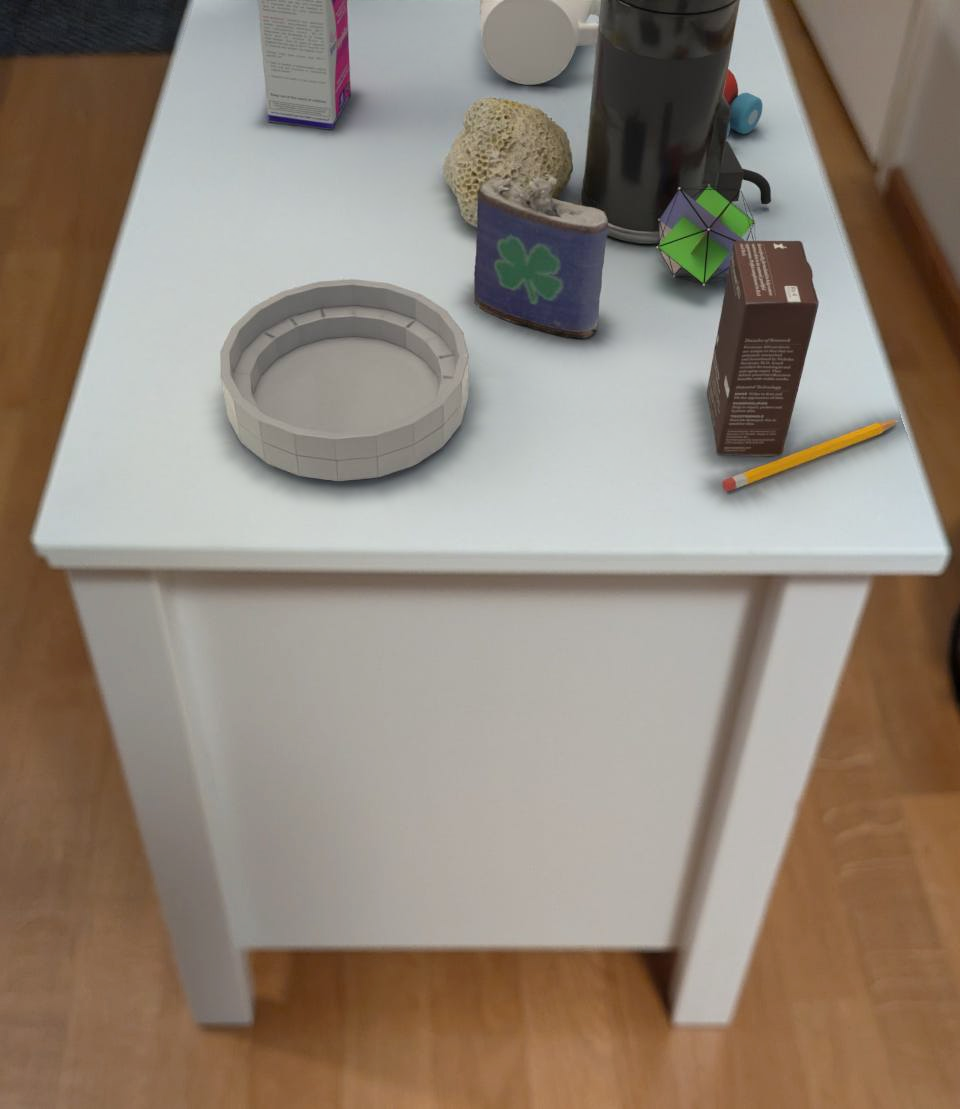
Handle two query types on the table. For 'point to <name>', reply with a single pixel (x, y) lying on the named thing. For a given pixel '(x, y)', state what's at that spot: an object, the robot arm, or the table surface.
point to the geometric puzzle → (701, 232)
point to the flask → (539, 257)
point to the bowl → (345, 379)
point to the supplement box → (305, 60)
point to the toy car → (741, 107)
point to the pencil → (806, 455)
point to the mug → (535, 36)
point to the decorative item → (505, 151)
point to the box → (761, 346)
